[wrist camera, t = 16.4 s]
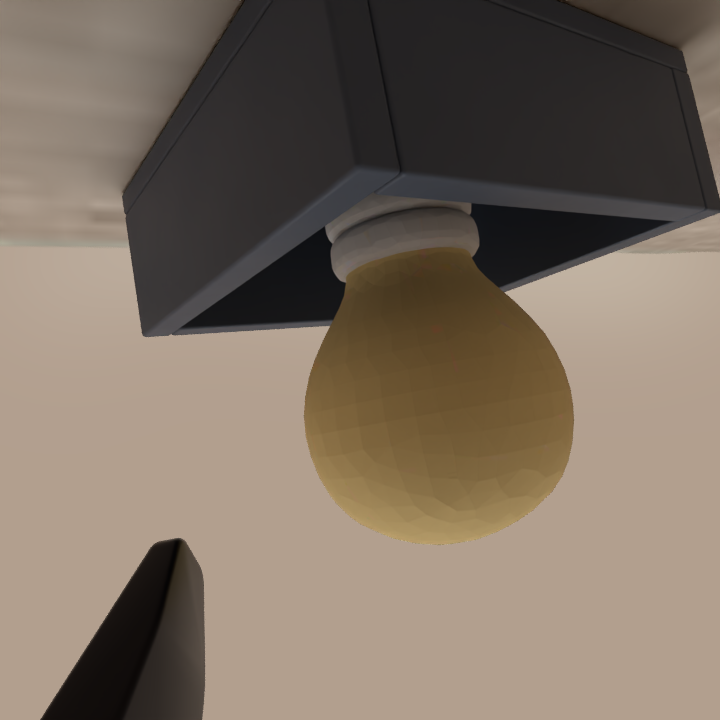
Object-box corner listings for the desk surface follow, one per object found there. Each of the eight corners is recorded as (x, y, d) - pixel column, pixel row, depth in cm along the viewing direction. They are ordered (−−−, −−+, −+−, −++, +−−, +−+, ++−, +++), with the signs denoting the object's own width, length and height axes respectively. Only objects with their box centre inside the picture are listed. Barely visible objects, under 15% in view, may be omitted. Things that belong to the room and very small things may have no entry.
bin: (121, 195, 17) (141, 337, 17) (308, -104, 9) (358, 168, 8) (409, 214, 24) (430, 320, 23) (683, 49, 15) (723, 211, 15)
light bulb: (221, 189, 17) (281, 565, 16) (347, 48, 12) (449, 596, 10) (405, 202, 20) (464, 508, 19) (564, 100, 15) (656, 511, 14)
